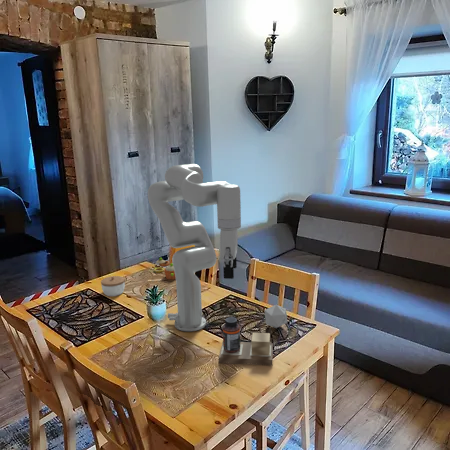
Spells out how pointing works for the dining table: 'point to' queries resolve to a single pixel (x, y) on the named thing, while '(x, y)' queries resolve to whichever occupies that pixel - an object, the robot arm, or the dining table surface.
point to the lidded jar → (113, 285)
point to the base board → (245, 356)
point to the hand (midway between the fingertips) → (230, 273)
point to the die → (276, 316)
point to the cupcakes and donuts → (168, 271)
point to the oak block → (260, 343)
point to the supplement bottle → (231, 335)
